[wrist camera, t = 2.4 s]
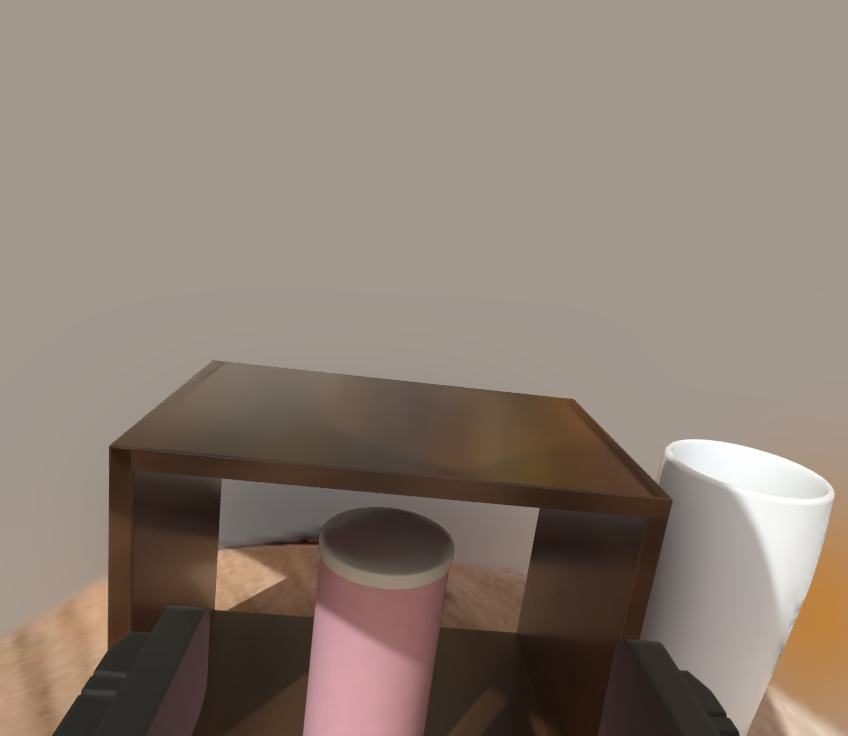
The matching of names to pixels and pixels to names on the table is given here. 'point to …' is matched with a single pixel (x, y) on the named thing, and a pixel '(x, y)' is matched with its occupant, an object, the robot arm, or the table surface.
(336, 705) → the pink canister
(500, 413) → the cubby cabinet
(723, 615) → the drinking glass
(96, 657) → the table surface
